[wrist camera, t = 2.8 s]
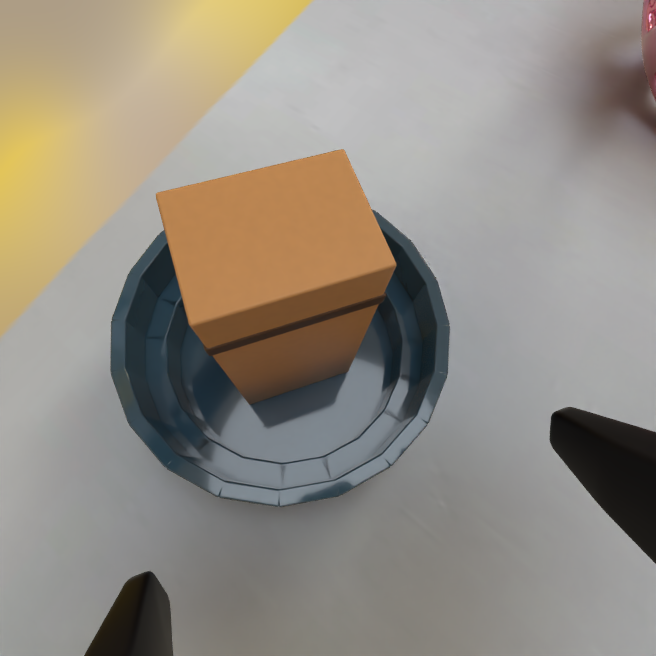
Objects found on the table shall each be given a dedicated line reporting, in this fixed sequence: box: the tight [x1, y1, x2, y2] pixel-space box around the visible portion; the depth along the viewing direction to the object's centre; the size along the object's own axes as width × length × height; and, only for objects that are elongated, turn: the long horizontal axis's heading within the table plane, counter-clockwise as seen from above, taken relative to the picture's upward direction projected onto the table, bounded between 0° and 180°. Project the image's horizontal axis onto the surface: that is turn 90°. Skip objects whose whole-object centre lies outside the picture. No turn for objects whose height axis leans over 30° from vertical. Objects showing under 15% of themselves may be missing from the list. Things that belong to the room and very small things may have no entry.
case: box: [156, 149, 396, 404], centre depth 16 cm, size 4×6×12 cm
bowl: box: [111, 210, 450, 507], centre depth 20 cm, size 14×14×6 cm
